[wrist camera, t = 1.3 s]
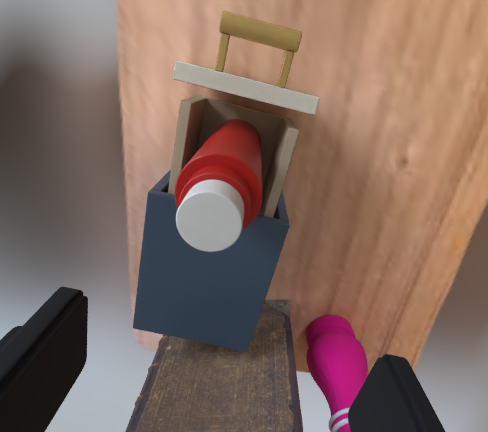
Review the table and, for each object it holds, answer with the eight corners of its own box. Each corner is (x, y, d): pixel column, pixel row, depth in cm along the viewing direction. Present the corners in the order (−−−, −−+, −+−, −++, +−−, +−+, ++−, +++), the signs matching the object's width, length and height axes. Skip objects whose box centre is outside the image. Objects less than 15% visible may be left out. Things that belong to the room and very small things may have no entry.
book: (170, 334, 44) (75, 612, 21) (165, 294, 41) (46, 565, 18) (288, 337, 43) (322, 628, 20) (290, 296, 40) (332, 582, 17)
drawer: (205, 16, 27) (184, -9, 19) (318, 46, 28) (340, 34, 20) (177, 196, 34) (153, 230, 27) (267, 218, 35) (269, 256, 27)
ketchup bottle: (217, 113, 29) (162, 158, 13) (266, 125, 29) (275, 186, 13) (208, 161, 31) (149, 256, 14) (254, 172, 31) (248, 278, 15)
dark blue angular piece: (178, 160, 33) (147, 192, 24) (281, 185, 34) (289, 225, 25) (162, 269, 39) (132, 328, 30) (250, 289, 40) (247, 352, 31)
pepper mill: (343, 356, 44) (403, 552, 26) (295, 345, 43) (321, 537, 25) (364, 318, 41) (448, 510, 23) (312, 306, 41) (355, 492, 22)
